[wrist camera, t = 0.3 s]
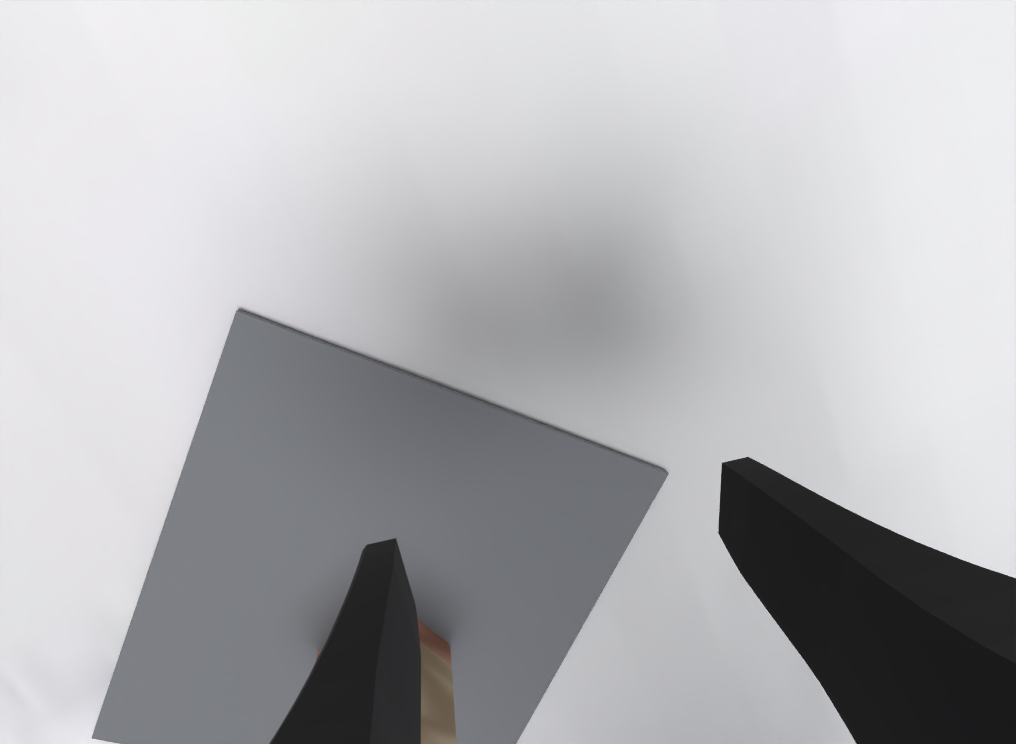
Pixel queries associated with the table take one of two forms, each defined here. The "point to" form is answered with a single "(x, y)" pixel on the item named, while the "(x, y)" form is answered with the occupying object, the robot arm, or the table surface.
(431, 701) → the maple block
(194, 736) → the mat
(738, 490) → the robot arm
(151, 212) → the table surface
